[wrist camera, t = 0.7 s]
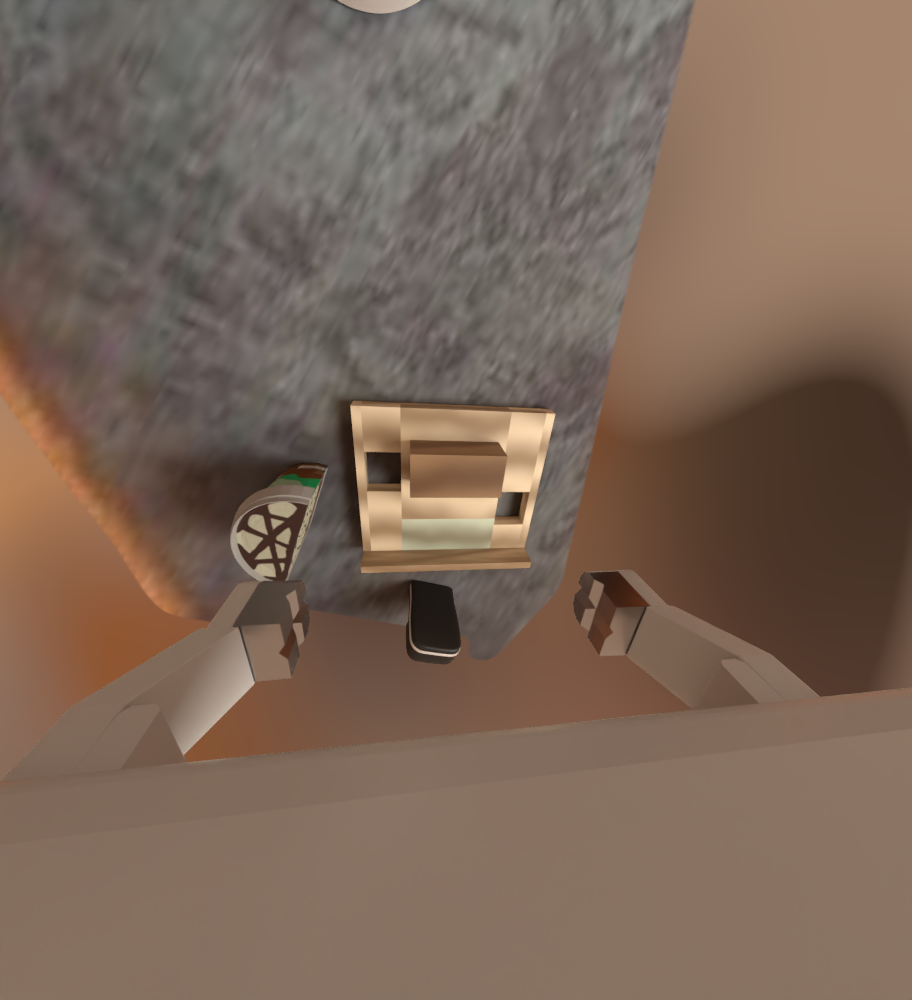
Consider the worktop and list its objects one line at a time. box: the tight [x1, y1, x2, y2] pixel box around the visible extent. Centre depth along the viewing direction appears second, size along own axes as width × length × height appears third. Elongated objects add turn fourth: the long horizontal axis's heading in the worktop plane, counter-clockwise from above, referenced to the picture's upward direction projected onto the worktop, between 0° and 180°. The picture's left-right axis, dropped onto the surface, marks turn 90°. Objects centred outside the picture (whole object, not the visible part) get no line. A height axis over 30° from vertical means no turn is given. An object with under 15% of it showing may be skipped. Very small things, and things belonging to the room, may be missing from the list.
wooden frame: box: [350, 400, 555, 573], centre depth 39 cm, size 20×22×5 cm
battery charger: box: [406, 581, 461, 664], centre depth 46 cm, size 7×4×11 cm, turn 68°
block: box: [410, 440, 508, 498], centre depth 36 cm, size 5×10×4 cm, turn 86°
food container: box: [230, 463, 328, 581], centre depth 35 cm, size 12×6×10 cm, turn 155°
